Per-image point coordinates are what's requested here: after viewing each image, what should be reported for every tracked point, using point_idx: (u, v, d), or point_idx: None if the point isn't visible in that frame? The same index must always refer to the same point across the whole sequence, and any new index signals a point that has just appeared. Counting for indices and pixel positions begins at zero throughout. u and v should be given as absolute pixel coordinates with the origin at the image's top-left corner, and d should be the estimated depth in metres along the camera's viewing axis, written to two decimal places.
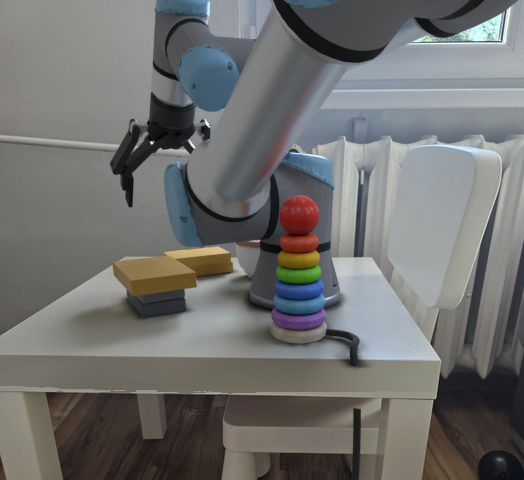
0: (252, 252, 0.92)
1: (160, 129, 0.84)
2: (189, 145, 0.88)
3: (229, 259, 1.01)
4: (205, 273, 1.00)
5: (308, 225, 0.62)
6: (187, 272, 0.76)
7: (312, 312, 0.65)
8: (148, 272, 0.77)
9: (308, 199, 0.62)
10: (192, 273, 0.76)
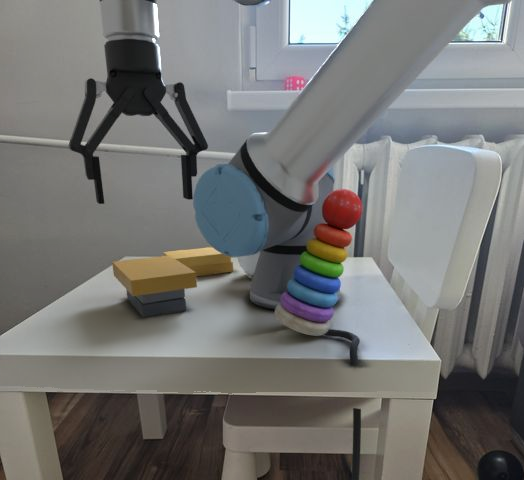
0: None
1: (121, 84, 0.69)
2: (161, 106, 0.72)
3: (229, 259, 1.01)
4: (205, 273, 1.00)
5: (351, 221, 0.62)
6: (187, 272, 0.76)
7: (325, 306, 0.65)
8: (148, 272, 0.77)
9: (357, 196, 0.62)
10: (192, 273, 0.76)
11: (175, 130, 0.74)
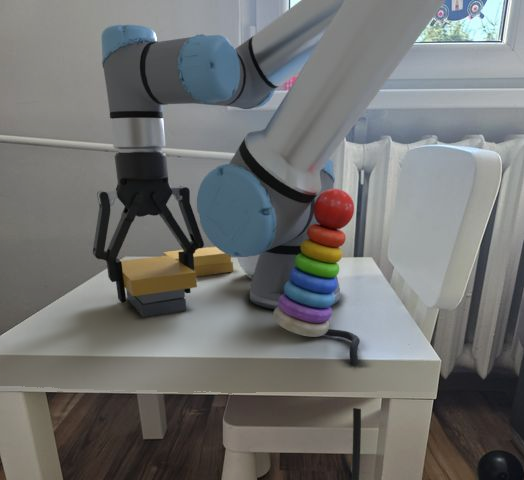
0: None
1: (130, 189, 0.74)
2: (166, 208, 0.76)
3: (229, 259, 1.01)
4: (205, 273, 1.00)
5: (343, 220, 0.61)
6: (187, 272, 0.76)
7: (323, 307, 0.65)
8: (148, 272, 0.77)
9: (348, 195, 0.61)
10: (192, 273, 0.76)
11: (176, 230, 0.79)
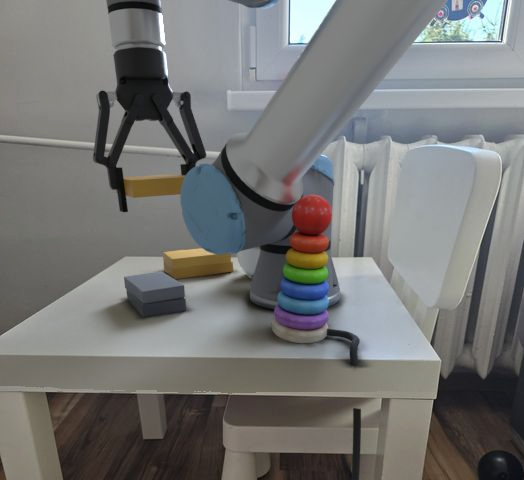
0: (252, 252, 0.92)
1: (130, 89, 0.72)
2: (167, 112, 0.75)
3: (229, 259, 1.01)
4: (205, 273, 1.00)
5: (320, 226, 0.61)
6: None
7: (316, 313, 0.65)
8: None
9: (323, 200, 0.61)
10: None
11: (177, 138, 0.77)
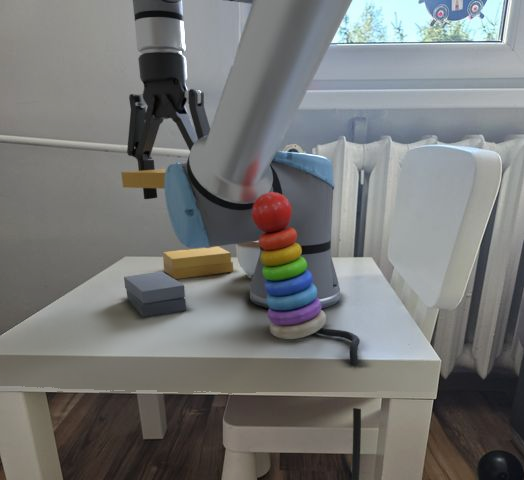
0: (252, 252, 0.92)
1: (149, 91, 0.81)
2: (173, 111, 0.80)
3: (229, 259, 1.01)
4: (205, 273, 1.00)
5: (279, 220, 0.61)
6: (164, 172, 0.79)
7: (302, 305, 0.65)
8: None
9: (275, 195, 0.61)
10: None
11: (184, 134, 0.81)
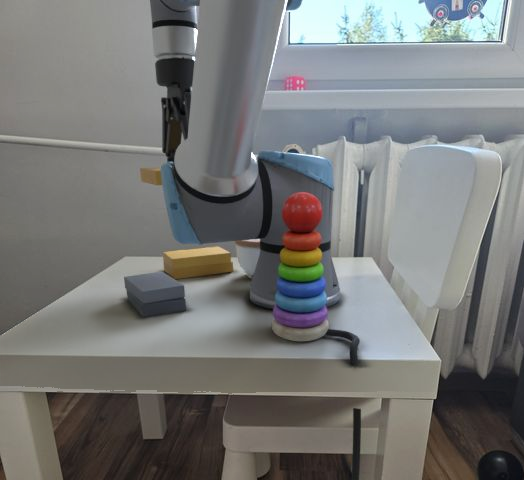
0: (252, 252, 0.92)
1: (169, 94, 0.88)
2: (176, 112, 0.85)
3: (229, 259, 1.01)
4: (205, 273, 1.00)
5: (309, 223, 0.61)
6: (156, 170, 0.86)
7: (311, 311, 0.65)
8: None
9: (310, 197, 0.61)
10: (154, 171, 0.85)
11: (183, 135, 0.86)
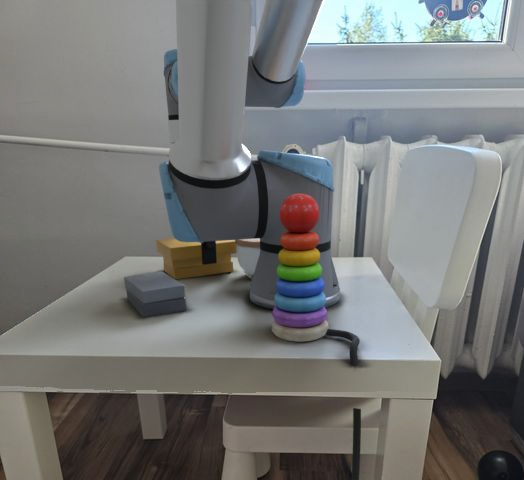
0: (252, 252, 0.92)
1: None
2: None
3: (229, 259, 1.01)
4: (205, 273, 1.00)
5: (306, 222, 0.62)
6: (171, 246, 0.95)
7: (310, 310, 0.65)
8: (177, 240, 1.01)
9: (307, 197, 0.62)
10: (169, 248, 0.94)
11: None
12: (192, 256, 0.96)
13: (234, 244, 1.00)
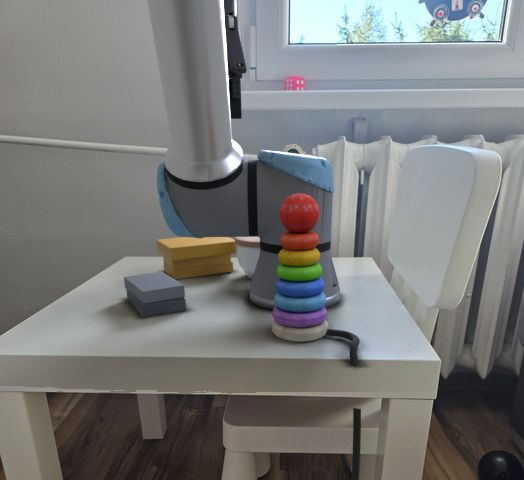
0: (252, 252, 0.92)
1: None
2: None
3: (229, 259, 1.01)
4: (205, 273, 1.00)
5: (306, 222, 0.62)
6: (171, 246, 0.95)
7: (310, 310, 0.65)
8: (177, 240, 1.01)
9: (307, 197, 0.62)
10: (169, 248, 0.94)
11: None
12: (192, 256, 0.96)
13: (234, 244, 1.00)
